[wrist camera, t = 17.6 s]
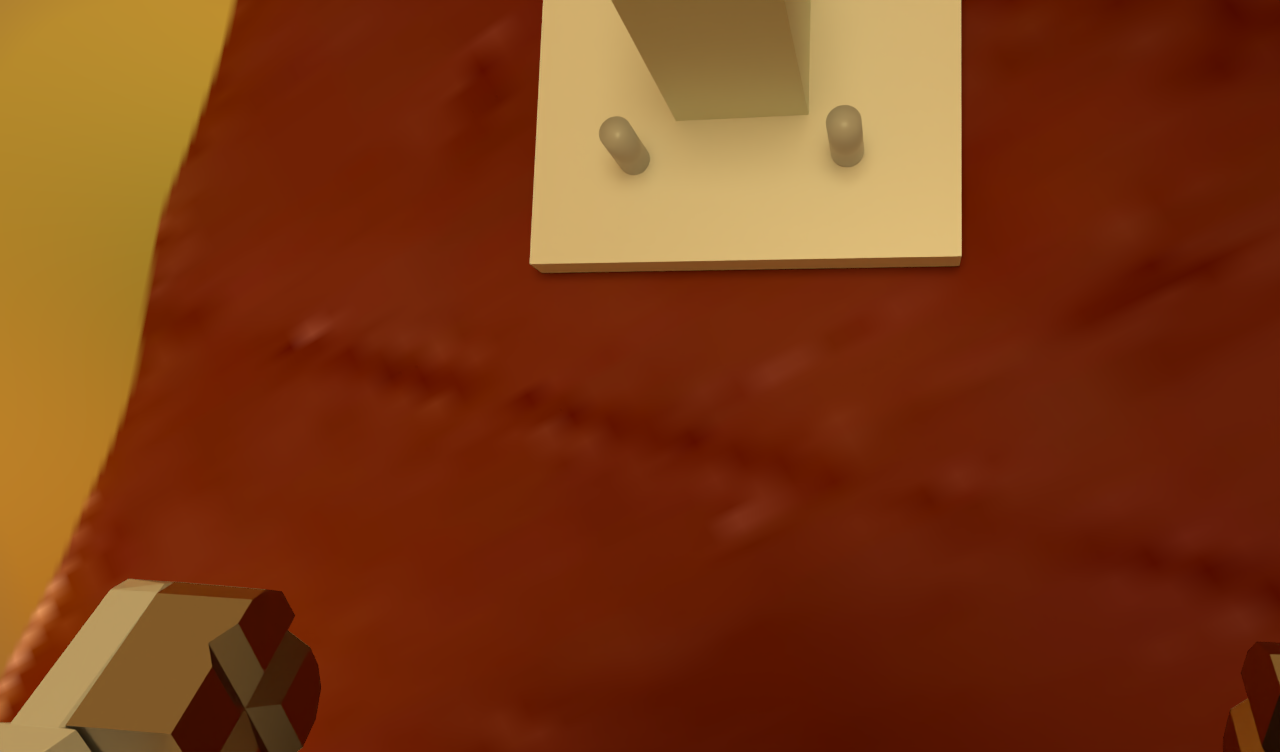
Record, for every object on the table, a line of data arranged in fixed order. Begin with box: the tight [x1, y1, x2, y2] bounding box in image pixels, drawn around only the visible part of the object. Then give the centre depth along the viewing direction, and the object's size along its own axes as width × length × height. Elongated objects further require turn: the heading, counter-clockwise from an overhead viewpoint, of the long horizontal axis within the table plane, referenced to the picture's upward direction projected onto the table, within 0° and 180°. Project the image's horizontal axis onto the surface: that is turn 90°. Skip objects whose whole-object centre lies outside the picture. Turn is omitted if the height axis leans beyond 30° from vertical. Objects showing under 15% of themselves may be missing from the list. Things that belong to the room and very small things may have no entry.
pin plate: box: [530, 0, 962, 273], centre depth 41 cm, size 16×16×4 cm
